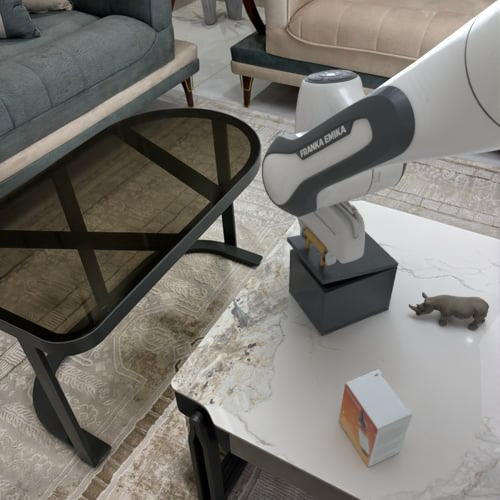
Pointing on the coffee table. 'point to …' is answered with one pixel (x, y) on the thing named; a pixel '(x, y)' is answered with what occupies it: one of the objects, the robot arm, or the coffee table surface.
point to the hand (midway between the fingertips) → (317, 248)
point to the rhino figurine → (454, 308)
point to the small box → (374, 417)
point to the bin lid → (314, 249)
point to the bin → (339, 295)
